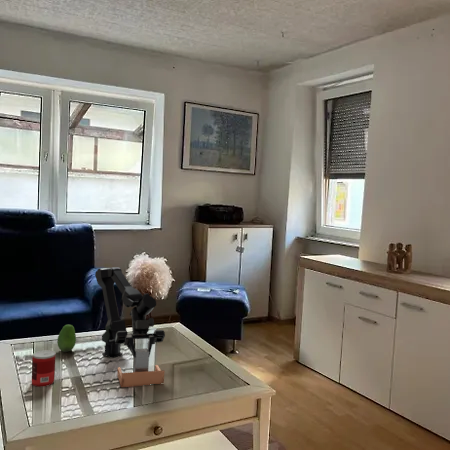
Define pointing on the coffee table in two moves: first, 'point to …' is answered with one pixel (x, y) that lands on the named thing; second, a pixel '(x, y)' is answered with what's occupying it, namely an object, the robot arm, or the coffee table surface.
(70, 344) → the fruit
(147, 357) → the block
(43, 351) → the canned food
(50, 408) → the coffee table surface
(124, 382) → the coupler dock
